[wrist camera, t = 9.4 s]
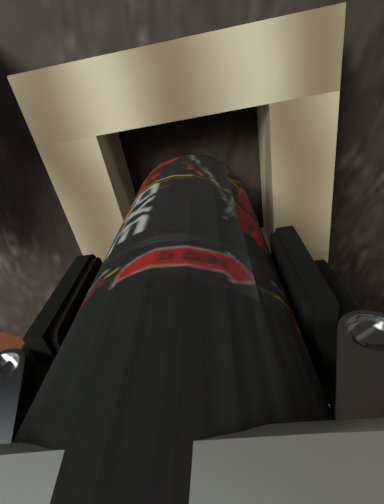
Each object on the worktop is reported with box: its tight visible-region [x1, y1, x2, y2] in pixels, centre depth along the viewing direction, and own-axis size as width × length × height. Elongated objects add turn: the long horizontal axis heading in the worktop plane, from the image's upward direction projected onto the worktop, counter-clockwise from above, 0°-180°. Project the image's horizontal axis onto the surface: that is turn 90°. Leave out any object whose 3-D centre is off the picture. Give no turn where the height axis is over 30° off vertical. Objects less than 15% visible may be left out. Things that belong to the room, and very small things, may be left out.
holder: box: [7, 2, 346, 263], centre depth 19 cm, size 15×15×4 cm
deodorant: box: [12, 154, 334, 504], centre depth 10 cm, size 6×6×15 cm
